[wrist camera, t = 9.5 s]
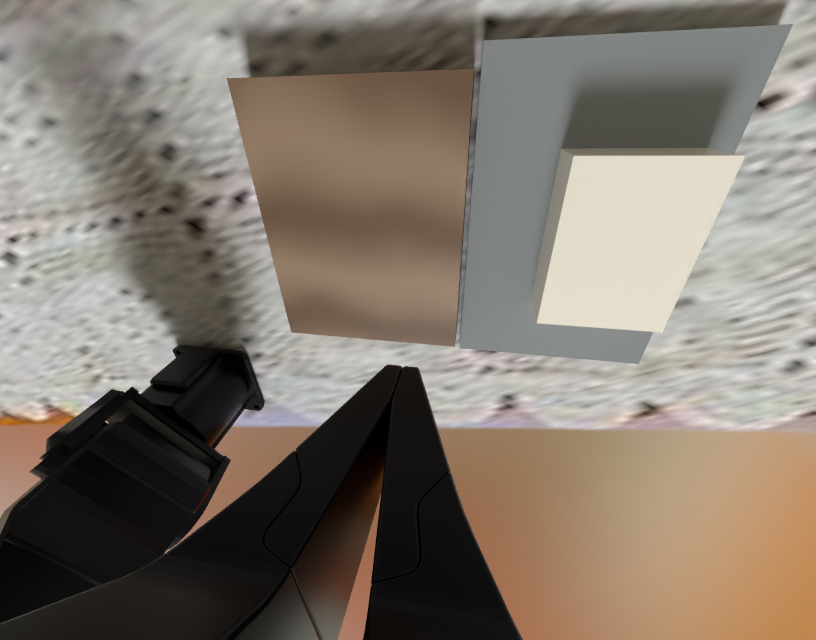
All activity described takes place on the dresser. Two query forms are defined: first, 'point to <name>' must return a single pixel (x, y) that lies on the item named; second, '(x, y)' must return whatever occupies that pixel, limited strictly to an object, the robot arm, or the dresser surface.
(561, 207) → the tile
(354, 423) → the robot arm
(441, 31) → the dresser surface
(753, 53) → the mat
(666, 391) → the dresser surface
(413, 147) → the board
